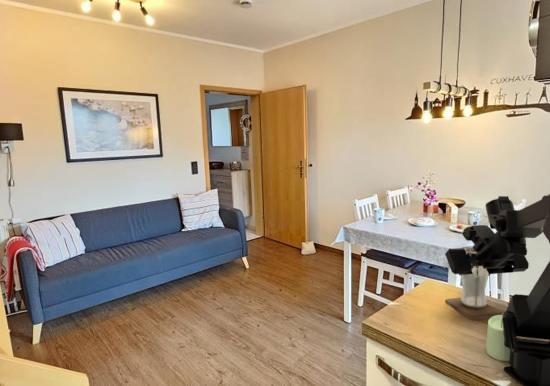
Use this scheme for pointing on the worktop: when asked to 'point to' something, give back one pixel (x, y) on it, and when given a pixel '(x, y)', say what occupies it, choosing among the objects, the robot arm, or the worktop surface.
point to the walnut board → (472, 309)
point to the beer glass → (474, 284)
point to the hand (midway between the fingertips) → (471, 273)
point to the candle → (496, 339)
